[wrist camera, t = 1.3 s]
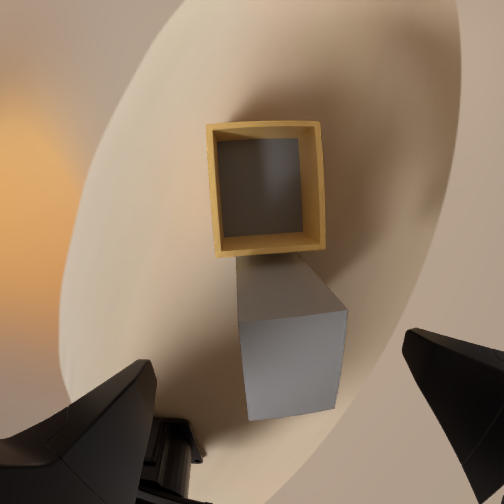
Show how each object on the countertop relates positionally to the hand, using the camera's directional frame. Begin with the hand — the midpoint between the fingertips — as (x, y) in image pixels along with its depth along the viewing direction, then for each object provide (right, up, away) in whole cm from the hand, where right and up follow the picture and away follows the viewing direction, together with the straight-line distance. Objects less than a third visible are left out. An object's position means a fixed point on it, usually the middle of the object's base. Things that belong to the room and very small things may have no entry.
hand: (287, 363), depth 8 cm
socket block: (-1, +7, +6) cm, 9 cm away
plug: (0, +2, +7) cm, 7 cm away
